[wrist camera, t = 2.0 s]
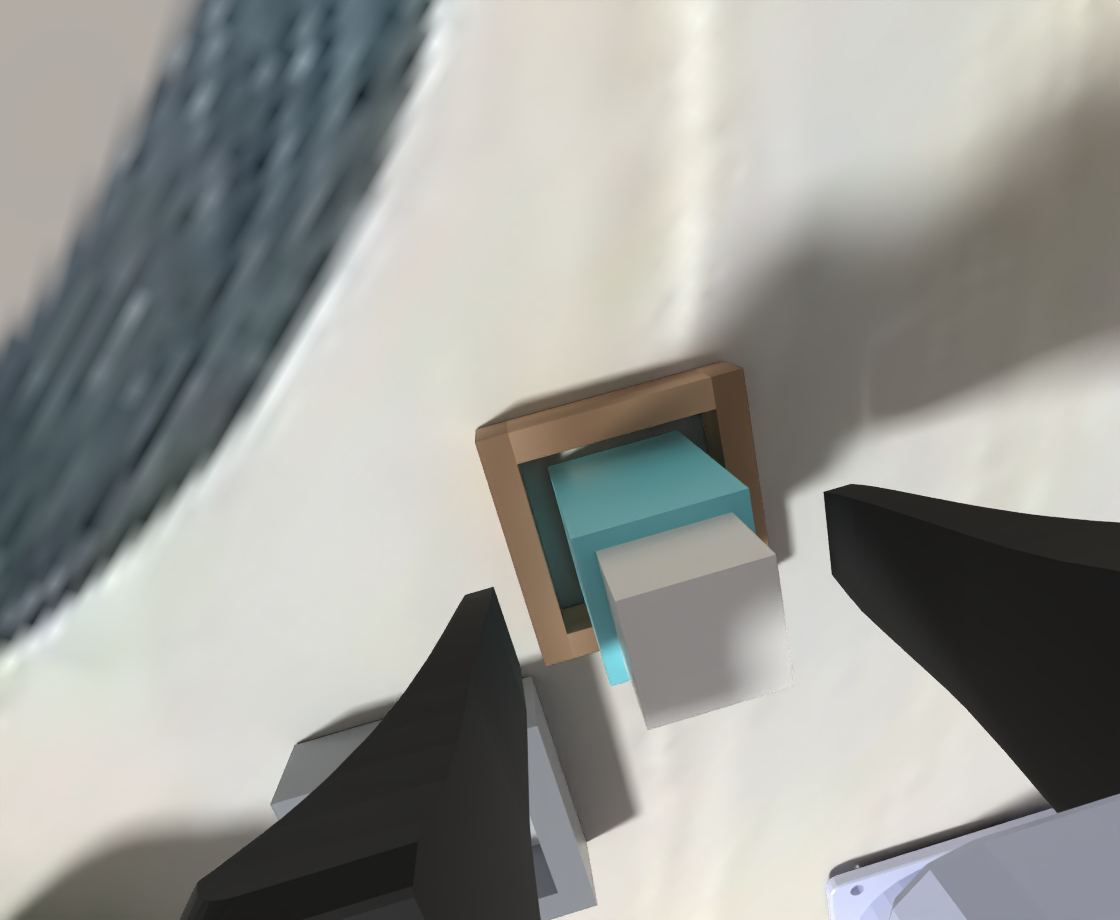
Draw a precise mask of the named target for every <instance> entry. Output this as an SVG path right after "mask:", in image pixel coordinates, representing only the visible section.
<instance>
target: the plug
mask: <svg viewBox="0 0 1120 920" xmlns="http://www.w3.org/2000/svg"><path fill="white" fill-rule="evenodd" d="M548 471H549V474H550V478H551V482H552V485H553V489H554V493H555V496H556V500H557V504H558V507H559V511H560V514H561V518H562V522H563V525H564V529H565V533H566V536H567V540H568V543H569V547H570V551H571V554H572V558H573V562H574V565H575V569H576V573H577V576H578V580H579V583H580V587H581V590H582V593H583V596H584V600H585V603H586V606H587V610H588V613H589V616H590V619H591V623H592V626H593V629H594V633H595V636H596V639H597V642H598V646H599V649H600V652H601V656H602V659H603V662H604V666H605V669H606V672H607V675H608V679H609V682H610V685H611V686H613V685H617V684H620V683H623V682H627V681H630V682H631V684H632V687H633V690H634V693H635V696H636V698H637V701H638V704H639V707H640V710H641V712H642V715H643V718H644V721H645V724H646V727H647V729H648V730H650V729H654V728H657V727H660V726H664V725H667V724H670V723H674V722H677V721H680V720H684V719H687V718H690V717H694V716H697V715H700V714H704V713H707V712H710V711H714V710H717V709H720V708H724V707H727V706H730V705H734V704H737V703H740V702H743V701H747V700H750V699H753V698H757V697H760V696H763V695H767V694H770V693H773V692H777V691H780V690H783V689H787V688H790V687H793V686H794V679H793V672H792V664H791V657H790V650H789V643H788V636H787V628H786V621H785V614H784V607H783V600H782V592H781V585H780V578H779V571H778V564H777V556H776V554H775V553H774V552H773V551H772V550H771V549H770V548H769V547H768V546H767V545H766V544H765V543H764V542H763V541H762V540H761V539H760V538H759V537H758V536H757V535H756V532H755V526H754V519H753V512H752V506H751V499H750V492H749V488H748V487H747V486H746V485H744V484H743V483H742V482H741V481H739V480H738V479H737V478H736V477H734V476H733V475H732V474H731V473H730V472H728V471H727V470H726V469H725V468H723V467H722V466H721V465H720V464H718V463H717V462H716V461H715V460H714V459H712V458H711V457H710V456H709V455H707V454H706V453H705V452H704V451H702V450H701V449H700V448H699V447H698V446H696V445H695V444H694V443H693V442H691V441H690V440H689V439H688V438H686V437H685V436H684V435H683V434H682V433H680V432H679V431H678V430H676V431H673V432H669V433H665V434H662V435H658V436H655V437H651V438H648V439H644V440H640V441H637V442H633V443H630V444H626V445H623V446H619V447H615V448H612V449H608V450H605V451H601V452H598V453H594V454H590V455H587V456H583V457H580V458H576V459H573V460H569V461H565V462H562V463H558V464H555V465H551V466H548Z"/></svg>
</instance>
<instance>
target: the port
mask: <svg viewBox="0 0 1120 920" xmlns="http://www.w3.org/2000/svg"><path fill="white" fill-rule="evenodd" d="M522 682H523V688H524V695H525V702H526V709H527V736H528V775H529V815H530V831H531V844H532V852H533V860H534V869H535V877H536V885H537V893H538V901H539V909H540V916H541V920H551V919H554V918H557V917H561V916H564V915H567V914H570V913H574V912H577V911H580V910H583V909H586V908H590V907H593V906H596V905H597V899H596V894H595V888H594V882H593V877H592V871H591V865H590V859H589V854H588V848H587V843H586V840H585V837H584V834H583V831H582V828H581V825H580V822H579V819H578V816H577V812H576V809H575V806H574V803H573V800H572V797H571V794H570V791H569V788H568V785H567V782H566V779H565V776H564V773H563V770H562V767H561V764H560V761H559V758H558V755H557V751H556V748H555V745H554V742H553V739H552V736H551V733H550V730H549V727H548V724H547V721H546V718H545V715H544V712H543V709H542V706H541V703H540V700H539V697H538V694H537V690H536V687H535V684H534V681H533V678H532V676H529V677H525V678H522ZM382 720H383V719H382ZM382 720H379V721H375V722H372V723H368V724H365V725H361V726H358V727H355V728H351V729H348V730H344V731H341V732H338V733H334V734H331V735H327V736H324V737H321V738H317V739H314V740H310V741H307V742H303V743H300V744H297V745H294V748H293V750H292V753H291V755H290V758H289V760H288V763H287V765H286V767H285V770H284V772H283V775H282V777H281V780H280V782H279V785H278V787H277V790H276V792H275V794H274V797H273V799H272V802H271V804H270V805H271V807H272V809H273V811H274V812H275V814H276V816H277V818H278V819H279V820H280V819H281V818H282V817H283V816H285V815H286V814H287V813H288V812H289V811H290V810H292V809H293V808H294V807H295V806H296V805H298V804H299V803H300V802H301V801H302V800H303V799H305V798H306V797H307V796H308V795H309V794H310V793H311V792H312V791H313V790H314V789H316V788H317V787H318V786H319V785H320V784H321V783H322V782H323V781H324V780H325V779H326V778H328V777H329V776H330V775H331V774H332V773H333V772H334V771H335V770H336V769H337V768H338V767H339V766H340V765H341V764H342V762H343V761H344V760H345V759H346V758H347V757H348V756H349V755H350V754H351V753H352V752H353V751H354V750H355V749H356V748H357V747H358V746H359V745H360V744H361V743H362V742H363V741H364V740H365V739H366V738H367V737H368V736H369V735H370V734H371V732H372V731H373V730H374V729H375V728H376V727H377V726H378V724H379V723H380V722H381V721H382Z"/></svg>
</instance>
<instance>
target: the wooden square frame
mask: <svg viewBox="0 0 1120 920" xmlns="http://www.w3.org/2000/svg"><path fill="white" fill-rule="evenodd" d="M699 413H701V414H702V420H703V425H704V431H705V437H706V443H707V449H708V454H709V456H710V457H711V458H712V459H714V460H715V461H716V462H717V463H718V464H720V465H721V466H722V467H723V468H725V469H726V470H727V471H728V472H730V473H731V474H732V475H733V476H734V477H736V478H737V479H738V480H739V481H741V482H742V483H743V484H744V485H746V486H747V487H748V488H749V492H750V499H751V506H752V512H753V519H754V526H755V532H756V535H757V536H758V537H759V538H760V539H761V540H762V541H763V542H764V543H765V544H766V545H767V546H768V539H767V532H766V525H765V518H764V511H763V504H762V497H761V490H760V483H759V476H758V469H757V462H756V455H755V448H754V441H753V434H752V427H751V420H750V413H749V406H748V399H747V392H746V385H745V378H744V371H743V368H741V367H738V366H736V365H733V364H730V363H727V362H725V361H722V362H718V363H715V364H711V365H707V366H704V367H700V368H696V369H693V370H689V371H686V372H682V373H678V374H675V375H671V376H667V377H664V378H660V379H657V380H653V381H649V382H646V383H642V384H638V385H635V386H631V387H628V388H624V389H620V390H617V391H613V392H609V393H606V394H602V395H599V396H595V397H591V398H588V399H584V400H580V401H577V402H573V403H570V404H566V405H562V406H559V407H555V408H551V409H548V410H544V411H541V412H537V413H533V414H530V415H526V416H522V417H519V418H515V419H512V420H508V421H504V422H501V423H497V424H493V425H490V426H486V427H483V428H479V429H476V434H475V444H476V447H477V451H478V454H479V457H480V460H481V463H482V466H483V470H484V473H485V476H486V479H487V482H488V485H489V489H490V492H491V495H492V498H493V501H494V504H495V508H496V511H497V514H498V517H499V520H500V523H501V527H502V530H503V533H504V536H505V539H506V542H507V546H508V549H509V552H510V555H511V558H512V561H513V565H514V568H515V571H516V574H517V577H518V580H519V584H520V587H521V590H522V593H523V596H524V599H525V603H526V606H527V609H528V612H529V615H530V618H531V622H532V625H533V628H534V631H535V634H536V637H537V641H538V644H539V647H540V650H541V653H542V656H543V660H544V663H545V666H550V665H553V664H556V663H560V662H563V661H567V660H570V659H574V658H577V657H580V656H584V655H587V654H591V653H594V652H597V651H600V649H599V646H598V642H597V639H596V636H595V633H594V629H593V626H592V623H591V619H590V616H589V613H588V610H587V606H586V603H583V604H579V605H576V606H572V607H569V608H566V609H562V610H561V606H560V603H559V600H558V596H557V593H556V589H555V586H554V582H553V579H552V576H551V572H550V569H549V565H548V562H547V558H546V555H545V552H544V548H543V545H542V541H541V538H540V535H539V531H538V528H537V524H536V521H535V517H534V514H533V511H532V507H531V504H530V500H529V497H528V494H527V490H526V487H525V483H524V480H523V476H522V473H521V470H520V466H519V464H520V463H524V462H527V461H531V460H534V459H538V458H542V457H545V456H549V455H552V454H556V453H560V452H563V451H567V450H570V449H574V448H577V447H581V446H585V445H588V444H592V443H595V442H599V441H603V440H606V439H610V438H613V437H617V436H621V435H624V434H628V433H631V432H635V431H638V430H642V429H646V428H649V427H653V426H656V425H660V424H664V423H667V422H671V421H674V420H678V419H681V418H685V417H689V416H692V415H696V414H699ZM768 547H769V546H768Z"/></svg>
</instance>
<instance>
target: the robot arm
mask: <svg viewBox="0 0 1120 920" xmlns="http://www.w3.org/2000/svg"><path fill="white" fill-rule="evenodd" d="M824 501H825V511H826V521H827V531H828V541H829V551H830V561H831V571H832V575H833V576H834V578H835V579H836V580H837V582H838V583H839V584H840V585H841V587H842V588H843V589H844V590H845V592H846V593H847V594H848V595H849V597H850V598H851V599H852V600H853V601H854V602H855V604H856V605H857V606H858V607H859V608H860V609H861V611H862V612H863V613H864V614H866V615H867V616H868V617H869V618H870V619H871V620H872V621H873V622H874V623H875V624H876V625H877V626H878V627H879V628H880V629H881V630H883V631H884V632H885V633H886V634H887V635H888V636H889V637H890V638H891V639H892V640H893V641H894V642H895V643H897V644H898V645H899V646H900V647H901V648H902V649H903V650H904V651H905V652H906V653H908V654H909V655H910V656H911V657H912V658H913V659H914V660H915V661H916V662H917V663H918V664H920V665H921V666H922V667H923V668H924V669H925V670H926V671H927V672H928V673H929V674H931V675H932V676H933V677H934V678H935V679H936V680H937V681H938V682H939V683H940V684H941V685H943V686H944V687H945V688H946V689H947V690H948V691H949V692H950V693H951V694H952V695H953V696H954V697H955V698H956V699H957V700H958V701H959V702H960V703H961V704H962V705H963V706H964V707H965V708H966V709H967V710H968V711H969V712H970V713H971V714H972V716H973V717H974V718H975V719H976V720H977V721H978V722H979V723H980V724H981V726H982V727H983V728H984V729H985V730H986V731H987V732H988V733H989V734H990V736H991V737H992V738H993V739H994V740H995V741H996V742H997V743H998V744H999V745H1000V747H1001V748H1002V749H1003V750H1004V751H1005V752H1006V753H1007V754H1008V756H1009V757H1010V758H1011V759H1012V760H1013V761H1014V763H1015V764H1016V765H1017V766H1018V767H1019V769H1020V770H1021V771H1022V772H1023V773H1024V774H1025V776H1026V777H1027V778H1028V779H1029V780H1030V781H1031V783H1032V784H1033V785H1034V786H1035V787H1036V788H1037V790H1038V791H1039V792H1040V793H1041V794H1042V796H1043V797H1044V798H1045V799H1046V800H1047V801H1048V803H1049V804H1050V805H1051V806H1052V807H1053V808H1050V809H1047V810H1044V811H1041V812H1037V813H1034V814H1031V815H1028V816H1025V817H1021V818H1018V819H1015V820H1012V821H1009V822H1005V823H1002V824H999V825H996V826H993V827H989V828H986V829H983V830H980V831H977V832H973V833H970V834H967V835H964V836H961V837H957V838H954V839H951V840H948V841H945V842H941V843H938V844H935V845H932V846H929V847H925V848H922V849H919V850H916V851H913V852H909V853H906V854H903V855H900V856H897V857H893V858H890V859H887V860H884V861H881V862H877V863H874V864H871V865H868V866H865V867H861V868H858V869H855V870H852V871H849V872H845V873H842V874H839V875H836V876H834V877H832V878H831V879H830V880H829V881H828V883H827V885H826V892H827V900H828V907H829V914H830V920H1120V523H1118V522H1103V521H1090V520H1080V519H1069V518H1059V517H1049V516H1040V515H1032V514H1025V513H1018V512H1011V511H1005V510H998V509H992V508H985V507H980V506H974V505H968V504H963V503H957V502H952V501H947V500H942V499H936V498H931V497H926V496H921V495H916V494H911V493H906V492H901V491H896V490H890V489H885V488H879V487H873V486H866V485H857V484H849V485H846V486H843V487H839V488H836V489H832V490H829V491H825V492H824ZM180 920H541V916H540V909H539V901H538V893H537V885H536V877H535V869H534V860H533V852H532V844H531V831H530V815H529V775H528V736H527V709H526V702H525V695H524V688H523V682H522V675H521V669H520V664H519V661H518V658H517V655H516V652H515V649H514V647H513V644H512V641H511V638H510V635H509V632H508V629H507V626H506V623H505V620H504V617H503V614H502V611H501V608H500V605H499V602H498V599H497V596H496V593H495V590H494V587H491V588H488V589H484V590H481V591H477V592H474V593H470V594H467V595H465V596H464V598H463V599H462V601H461V603H460V604H459V606H458V608H457V609H456V611H455V613H454V615H453V616H452V618H451V620H450V622H449V623H448V625H447V627H446V629H445V630H444V632H443V634H442V636H441V637H440V639H439V641H438V642H437V644H436V646H435V647H434V649H433V651H432V652H431V654H430V655H429V657H428V659H427V660H426V662H425V663H424V665H423V666H422V668H421V669H420V671H419V672H418V673H417V675H416V676H415V678H414V679H413V681H412V682H411V684H410V685H409V687H408V688H407V689H406V691H405V692H404V693H403V695H402V696H401V697H400V699H399V700H398V701H397V703H396V704H395V705H394V706H393V708H392V709H391V710H390V711H389V713H388V714H387V715H386V716H385V717H384V718H383V720H382V721H381V722H380V723H379V724H378V726H377V727H376V728H375V729H374V730H373V731H372V732H371V734H370V735H369V736H368V737H367V738H366V739H365V740H364V741H363V742H362V743H361V744H360V745H359V746H358V747H357V748H356V749H355V750H354V751H353V752H352V753H351V754H350V755H349V756H348V757H347V758H346V759H345V760H344V761H343V762H342V764H341V765H340V766H339V767H338V768H337V769H336V770H335V771H334V772H333V773H332V774H331V775H330V776H329V777H328V778H326V779H325V780H324V781H323V782H322V783H321V784H320V785H319V786H318V787H317V788H316V789H314V790H313V791H312V792H311V793H310V794H309V795H308V796H307V797H306V798H305V799H303V800H302V801H301V802H300V803H299V804H298V805H296V806H295V807H294V808H293V809H292V810H290V811H289V812H288V813H287V814H286V815H285V816H283V817H282V818H281V819H280V820H279V821H277V822H276V823H275V824H274V825H273V826H271V827H270V828H269V829H268V830H266V831H265V832H264V833H263V834H261V835H260V836H259V837H257V838H256V839H255V840H253V841H252V842H251V843H249V844H248V845H247V846H245V847H244V848H243V849H241V850H240V851H239V852H237V853H236V854H235V855H234V856H232V857H231V858H230V859H228V860H227V861H226V862H224V863H223V864H222V865H220V866H219V867H218V868H216V869H215V870H214V871H212V872H211V873H209V874H208V875H207V876H205V877H204V878H202V879H201V880H200V881H198V883H197V885H196V887H195V889H194V891H193V893H192V895H191V897H190V899H189V901H188V903H187V905H186V908H185V910H184V912H183V914H182V916H181V918H180Z"/></svg>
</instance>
